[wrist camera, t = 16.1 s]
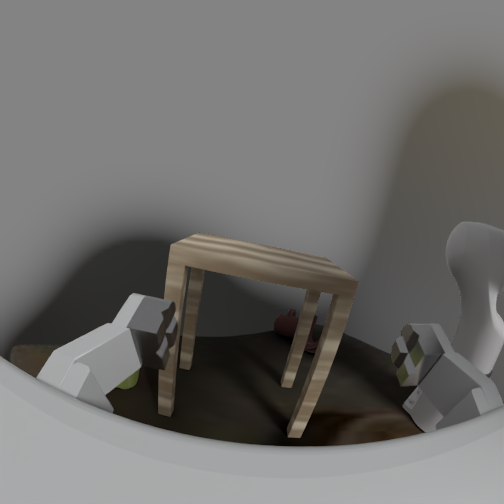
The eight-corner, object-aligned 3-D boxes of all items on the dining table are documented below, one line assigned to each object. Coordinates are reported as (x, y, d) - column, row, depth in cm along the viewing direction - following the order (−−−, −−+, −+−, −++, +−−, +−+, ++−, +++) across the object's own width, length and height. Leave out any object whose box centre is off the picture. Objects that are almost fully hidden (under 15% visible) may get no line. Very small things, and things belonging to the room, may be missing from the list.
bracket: (323, 355, 58) (335, 315, 60) (268, 339, 70) (279, 304, 72) (333, 358, 62) (344, 320, 64) (281, 342, 74) (291, 309, 76)
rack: (300, 437, 34) (358, 281, 30) (158, 413, 34) (170, 244, 30) (290, 382, 50) (325, 257, 46) (181, 362, 50) (199, 232, 46)
